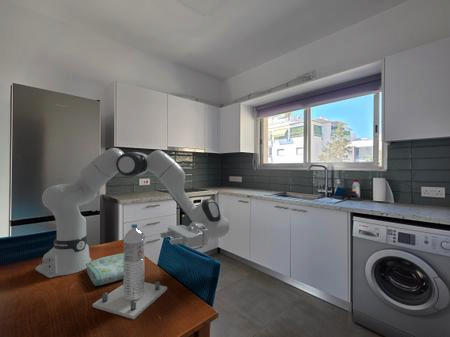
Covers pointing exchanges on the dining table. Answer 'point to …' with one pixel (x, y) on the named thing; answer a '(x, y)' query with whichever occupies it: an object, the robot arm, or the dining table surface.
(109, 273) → the towel
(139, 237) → the water bottle
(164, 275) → the dining table surface
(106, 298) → the bottle stand
